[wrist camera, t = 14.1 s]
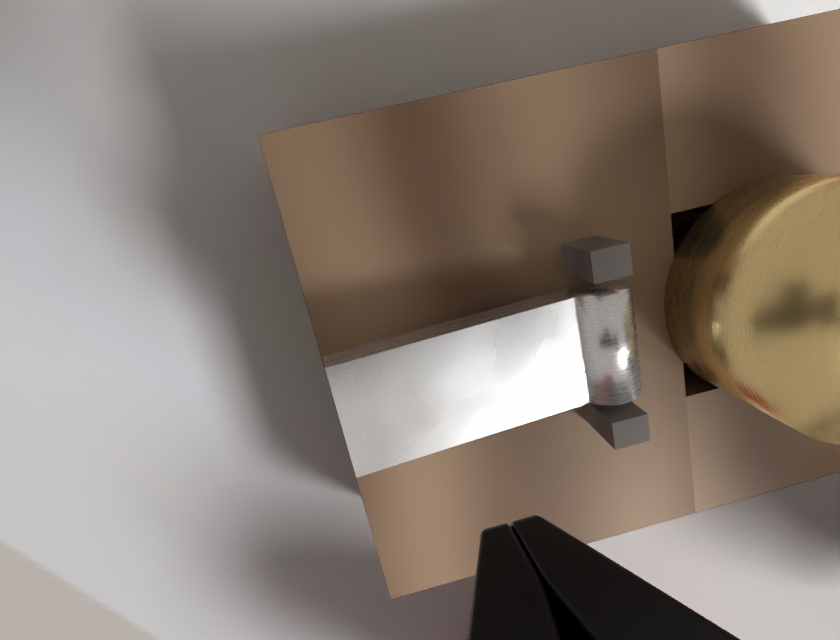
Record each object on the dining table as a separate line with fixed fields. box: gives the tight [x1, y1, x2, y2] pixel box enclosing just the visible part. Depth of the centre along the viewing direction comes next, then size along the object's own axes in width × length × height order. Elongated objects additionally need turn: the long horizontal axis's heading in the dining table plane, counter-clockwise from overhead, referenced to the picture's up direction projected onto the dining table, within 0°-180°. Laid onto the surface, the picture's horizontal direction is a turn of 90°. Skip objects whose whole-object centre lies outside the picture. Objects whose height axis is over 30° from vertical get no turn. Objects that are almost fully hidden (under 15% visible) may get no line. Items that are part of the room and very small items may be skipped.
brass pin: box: [664, 173, 840, 444], centre depth 16 cm, size 6×6×8 cm
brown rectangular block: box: [258, 9, 840, 599], centre depth 16 cm, size 18×14×7 cm
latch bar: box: [323, 279, 643, 478], centre depth 13 cm, size 8×3×2 cm, turn 102°
